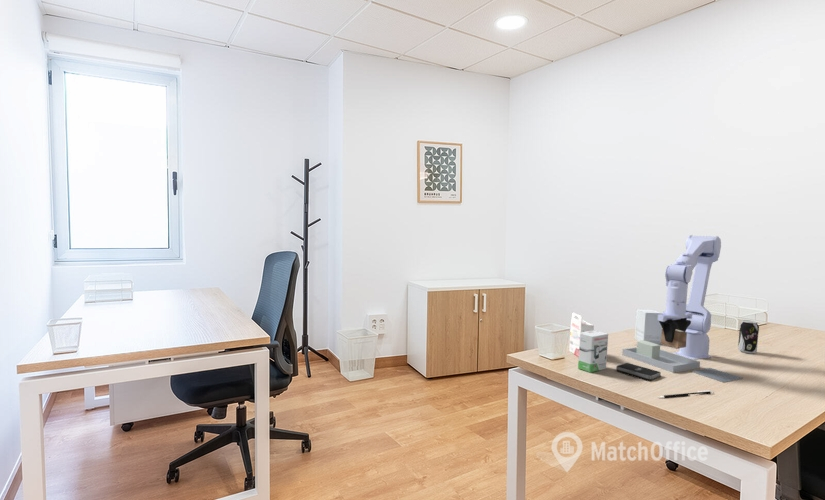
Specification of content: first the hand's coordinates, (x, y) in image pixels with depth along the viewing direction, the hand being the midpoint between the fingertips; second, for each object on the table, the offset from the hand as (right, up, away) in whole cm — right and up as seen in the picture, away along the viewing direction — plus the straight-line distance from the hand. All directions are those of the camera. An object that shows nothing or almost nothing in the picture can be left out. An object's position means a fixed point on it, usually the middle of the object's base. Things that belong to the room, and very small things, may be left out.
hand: (673, 341), depth 147 cm
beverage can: (+40, -9, +20) cm, 46 cm away
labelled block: (0, -1, 0) cm, 1 cm away
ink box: (-29, -8, -4) cm, 30 cm away
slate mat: (+9, -10, -8) cm, 15 cm away
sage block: (-4, -8, +9) cm, 12 cm away
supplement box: (+8, -7, +31) cm, 33 cm away
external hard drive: (-16, -9, -8) cm, 20 cm away
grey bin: (-2, -8, +5) cm, 10 cm away
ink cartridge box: (-27, -7, +11) cm, 30 cm away
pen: (-11, -11, -24) cm, 29 cm away
